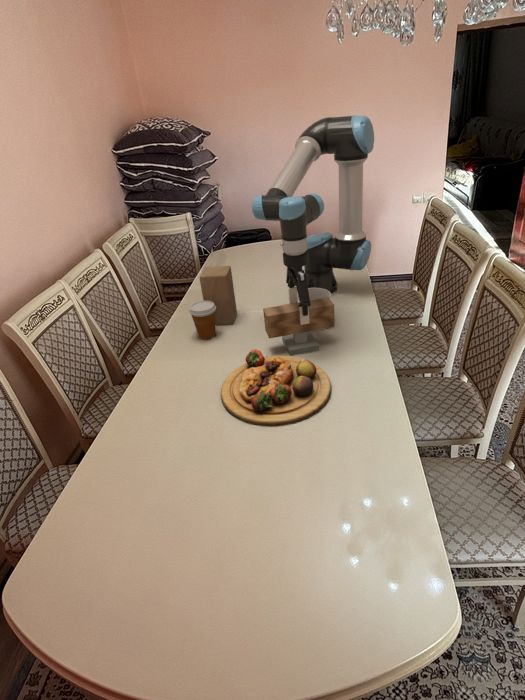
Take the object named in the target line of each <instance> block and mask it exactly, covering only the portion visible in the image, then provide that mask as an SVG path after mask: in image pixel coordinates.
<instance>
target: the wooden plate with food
mask: <svg viewBox="0 0 525 700" xmlns="http://www.w3.org/2000/svg"><path fill="white" fill-rule="evenodd" d="M331 391H332V383H331V381H330V377H329V376H328V374H327V373H326V371H325V370H324V369H323V368H321V366H319V365H318V364H316V363H314V362H312V361H311V360H308V359H307V358H301V357H298V356H293V355H291V356H290V355H271V356H264V355H263V353H262V351H261V350H259V349H256V348H255V349H251V350H250V351H249V353H247V354H246V357H245V363H244V364H241V365H239V366H238V367H237V368H235V369H234V370H233V371H232V372H231V373H229V374H228V376H226V378H225V380H224V381H223V383H222V386H221V389H220V399H221V402H222V404H223V406H224V408H225V409H226V410H227V411H228V413H230V415H232V416H233V417H235V418H237V419H238V420H241V421H243V422H244V423H249V424H252V425H258V426H264V427H265V426H268V427H269V426H271V427H273V426H274V427H276V426H285V425H290V424H295V423H299V422H301V421H303V420H306V419H308V418H310V417H312V416H314V415H315V414H317V413H318V412H319V411H320V410H322V408H324V406H325V405H326V404H327V402H328V401H329V398H330V396H331Z"/></svg>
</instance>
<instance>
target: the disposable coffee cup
mask: <svg viewBox="0 0 525 700" xmlns="http://www.w3.org/2000/svg"><path fill="white" fill-rule="evenodd" d="M215 310H216V306H215V305H214V303H213V302H211V301H203V300H199V301H196V302H194V303H192V304H190V306H189V314H190V315H191V318H192V320H193V323H194V326H195V330H196V333H197V335H198V338H199V339H200V340H210V339H213V338H215V337H216V335H217V332H216V331H217V329H216V327H217V325H216V323H215Z"/></svg>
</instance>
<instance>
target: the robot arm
mask: <svg viewBox="0 0 525 700" xmlns="http://www.w3.org/2000/svg"><path fill="white" fill-rule="evenodd" d="M374 131H375V130H374V127H373V123H372V121H371V119H370V118H369V117H368V116H366V115H357V114H356V115H347V116H346V115H344V116H335V117H333V116H332V117H330V116H328V117H324V118H320V119H318V120H317V121H315V122H313V123H312V124H311V125H309V126H308V127H307V128H306V129H304V131H303V132H302V133H301V134H300V135H299V137H298V138H297V140H296V141H295V145H294V150H293V151H292V153H291V155H290V156H289V158H288V160H287V161H286V163H284V166H283V168H282V169H281V171H279V173H278V175H277V176H276V179H274V182H273V183H272V184H271V186H270V187H269V189H268V191H267V192H266V194H265V195H264V194H261V195H257V196H255V197H254V198H253V199H252V200H253V201H252V204H251V210H252V211H251V212H252V214H253V216H254V218H255V219H257V220H259V221H260V220H261V221H266V222H267V221H272V222H273V221H275V222H279V224H280V233H281V235H280V236H281V242H279V244H280V246H281V247H282V252H283V253H282V260H283V265H284V266H285V267H286V280H285V283H286V285H287V289H288V300H289V304H293V303H299V302H300V304H299V305H298V307H299V308H300V324H301V325H303V324H309V306H311V303H310V298H309V292H308V288H322V289H326V290H328V291H330V293H331V295H332V294H333V293H335V292H336V291H337V290H338V281H337V279H336V276H335V273H334V269H341V270H350V271H362V270H363V269H365V267H366V266H367V264H368V261H369V258H370V257H371V251H372V243H371V242H372V241H370V240H369V239H367V233H365V231H363V204H364V203H363V202H364V201H363V199H364V198H363V194H364V190H363V188H364V164H365V162H366V160H368V157H369V156H368V155H369V154H371V152H373V149H374V144H375V132H374ZM323 155H333V159H334V162H335V163H336V164H337V165H338V231H337V233H336V234H335V235H334V236H335V237H334V236H333V233H331V232H327V231H323V232H317V233H316V232H315V233H313V234H311V235H307V226H308V225H309V224H311V223H312V222H314V221H316V220H318V218H320V216H321V215H322V214H323V212H324V210H325V202H324V199H323V198H322V197H321V196H320V195H319V194H317V193H308V194H306V195H305V196H294V194H295V193H296V191H297V189H298V188H299V186H300V184H301V183H302V180H303V179H304V177H305V176H306V174H307V173H308V171H309V170H310V168H311V166H312V164H313V163H314V162H316V161H317V160H318V159H319V158H320V157H321V156H323ZM303 267H304V269H303Z"/></svg>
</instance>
